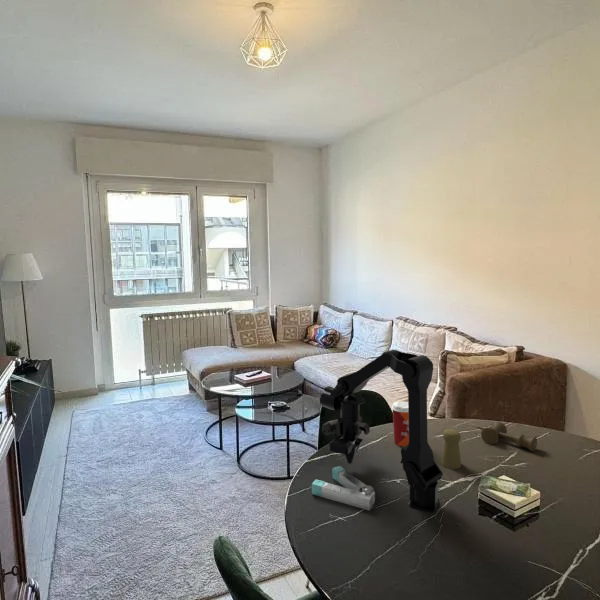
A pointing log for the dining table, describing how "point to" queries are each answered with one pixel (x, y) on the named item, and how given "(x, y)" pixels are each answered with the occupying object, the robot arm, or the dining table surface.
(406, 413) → the paper cup
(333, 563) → the dining table surface
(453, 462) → the cork
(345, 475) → the moving jaw
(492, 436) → the kendama
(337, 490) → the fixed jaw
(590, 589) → the dining table surface
